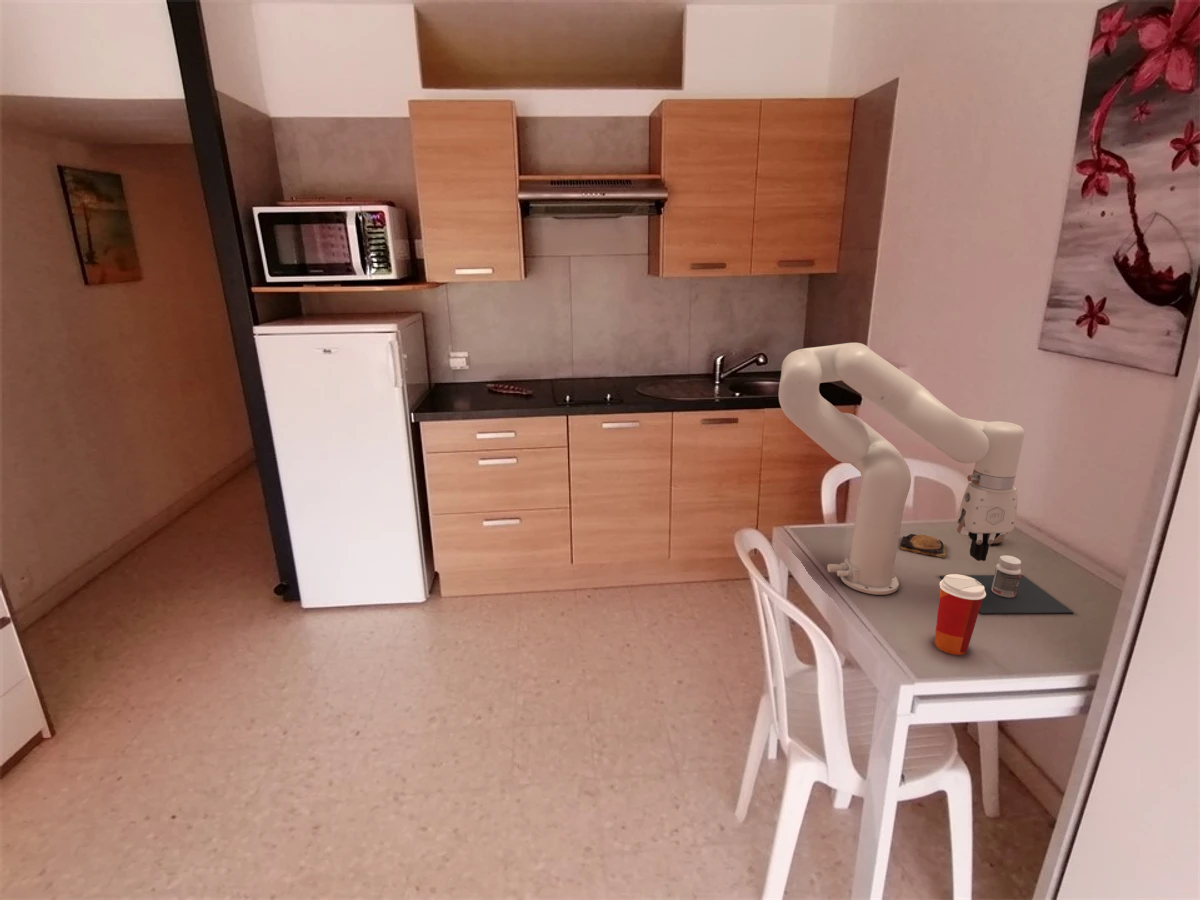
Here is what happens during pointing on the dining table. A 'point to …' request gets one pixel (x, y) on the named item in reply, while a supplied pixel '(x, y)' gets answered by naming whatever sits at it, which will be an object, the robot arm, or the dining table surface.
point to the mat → (1018, 599)
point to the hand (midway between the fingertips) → (977, 557)
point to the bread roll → (923, 545)
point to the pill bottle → (1006, 576)
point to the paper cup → (957, 612)
